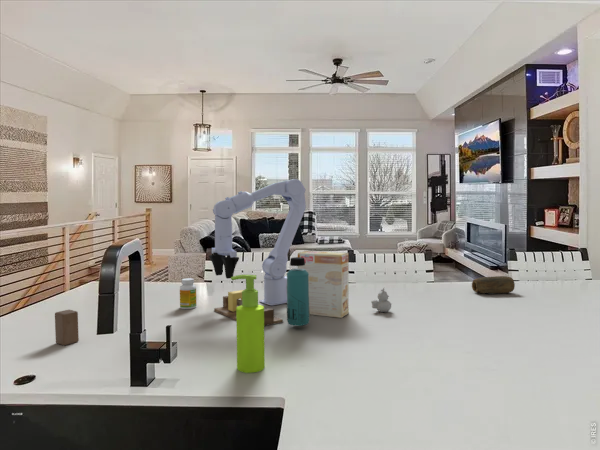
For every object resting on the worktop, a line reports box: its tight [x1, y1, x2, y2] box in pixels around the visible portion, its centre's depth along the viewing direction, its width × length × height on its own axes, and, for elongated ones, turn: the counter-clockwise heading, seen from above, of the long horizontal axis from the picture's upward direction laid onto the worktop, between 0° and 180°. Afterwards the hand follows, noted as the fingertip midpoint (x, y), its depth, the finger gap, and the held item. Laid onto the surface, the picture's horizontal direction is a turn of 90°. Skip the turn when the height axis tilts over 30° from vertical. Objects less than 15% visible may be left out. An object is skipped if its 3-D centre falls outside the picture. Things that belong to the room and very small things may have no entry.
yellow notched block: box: [227, 289, 244, 312], centre depth 139 cm, size 3×6×6 cm, turn 127°
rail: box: [213, 295, 284, 327], centre depth 135 cm, size 25×10×4 cm, turn 37°
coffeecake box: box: [297, 250, 350, 319], centre depth 138 cm, size 15×7×20 cm, turn 65°
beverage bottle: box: [286, 256, 310, 327], centre depth 122 cm, size 6×7×20 cm
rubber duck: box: [371, 287, 392, 313], centre depth 140 cm, size 5×7×8 cm
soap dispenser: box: [230, 274, 266, 374], centre depth 92 cm, size 6×7×20 cm
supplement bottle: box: [179, 277, 197, 310], centre depth 146 cm, size 5×5×10 cm
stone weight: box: [471, 275, 515, 294], centre depth 167 cm, size 15×7×7 cm, turn 98°
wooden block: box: [54, 309, 80, 346], centre depth 110 cm, size 4×4×8 cm
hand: (224, 276), depth 147 cm, fingers open, 7 cm apart
